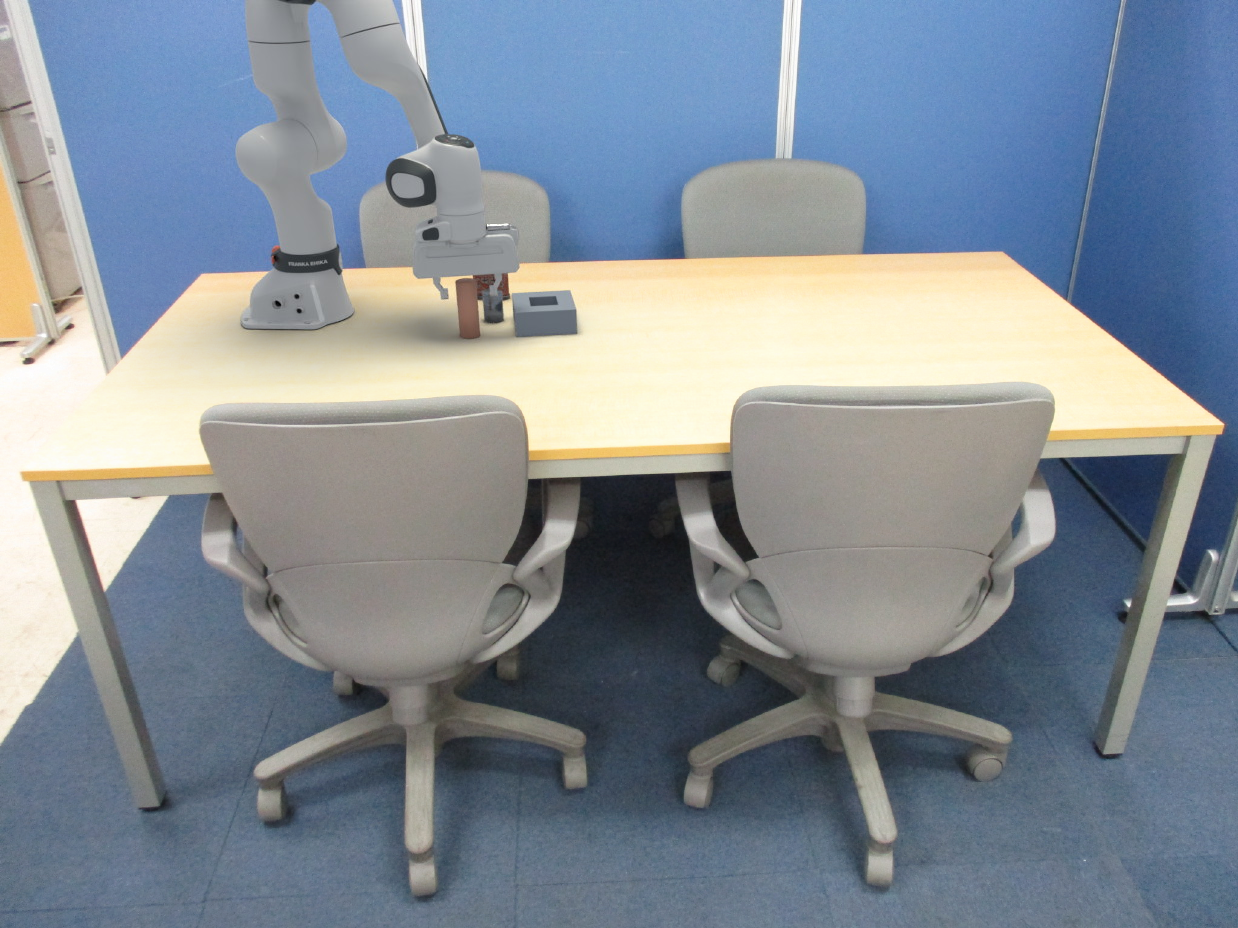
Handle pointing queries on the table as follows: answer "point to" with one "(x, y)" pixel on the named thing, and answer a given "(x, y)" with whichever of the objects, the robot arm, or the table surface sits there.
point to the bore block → (544, 313)
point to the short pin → (493, 307)
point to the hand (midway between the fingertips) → (469, 297)
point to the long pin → (467, 308)
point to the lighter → (489, 279)
